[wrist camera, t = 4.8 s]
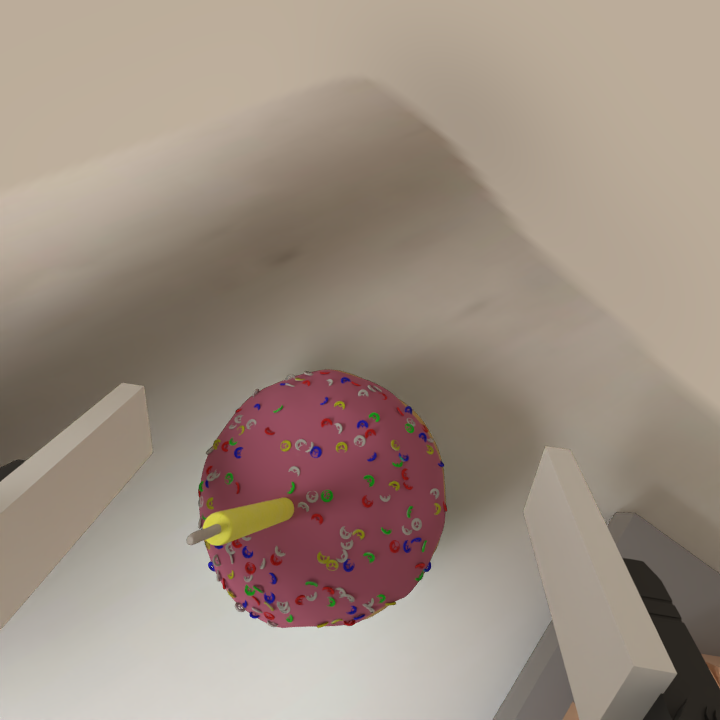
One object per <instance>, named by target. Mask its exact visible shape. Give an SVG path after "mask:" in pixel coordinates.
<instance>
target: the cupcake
mask: <svg viewBox="0 0 720 720" xmlns="http://www.w3.org/2000/svg"><path fill="white" fill-rule="evenodd" d="M289 377H290V378H289ZM291 377H292V378H291ZM288 378H289V379H288ZM255 392H256V393H255ZM235 412H236V413H235V414H234V416H233V417H232V418H231V420H230V421H229V422H228V424H227V425H226V427H225V428H224V429H223V431H222V432H221V434H220V435H219V437H218V438H217V440H215V441H214V443H213V446H212V447H211V448H210V449H209V450H208V451H207V452H206V454H208V457H207V459H206V462H205V465H204V469H203V473H202V478H201V483H200V485H199V490H198V493H199V510H200V520H199V523H198V528H199V529H200V528H201V527H202V528H201V530H198V531H196V532H194V533H192V534H190V535H189V536H188V537H187V543H188V544H189V545H193V544H196V543H198V542H200V541H203V540H204V542H205V545H206V548H207V551H208V554H209V556H210V559H211V562H209V563H208V567H209V568H210V569H211V570H212V571H216V573H217V581H221V583H222V584H223V589H226V590H227V592H228V594H229V595H230V596H231V597H232V598H233V599H234V601H235V602H236V604H235V608H236V610H237V611H239V612H244V611H245V610H246V611H248V612H249V613H250V617H252V618H258V619H260V620H262V621H264V622H266V623H267V624H268V625H269V626H271V627H281V628H286V627H306V626H317V627H318V628H320V627H323V626H338V625H347V626H352V625H354V624H355V623H357V622H360V621H361V620H364V619H367V618H369V617H372V616H374V615H375V614H377V613H379V612H380V611H382V610H383V609H385V608H386V607H387V606H389V605H395V604H396V602H395V601H397V600H399V599H402V598H404V597H405V596H407V595H408V594H409V593H410V592H411V591H412V590H413V588H414V587H415V586H416V585H417V583H418V582H419V581H420V580H421V579H422V578H423V574H424V573H425V572H428V571H429V570H430V569H431V562H430V560H431V558H432V556H433V554H434V552H435V550H436V548H437V546H438V543H439V540H440V537H441V534H442V531H443V528H444V523H445V511H447V506H446V496H445V481H444V470H443V467H444V464H443V462H442V459H441V456H440V453H439V450H438V448H437V446H436V443H435V441H434V439H433V437H432V435H431V433H430V432H429V430H428V428H427V427H426V425H425V423H424V422H423V421H422V419H421V418H420V417H419V416H418V415H417V414H416V413H415V412H414V411H413V410H412V408H411V407H410V406H408V405H406V404H405V403H404V402H402V401H401V400H399V399H398V398H397V397H395V396H394V395H393V394H392V393H391V392H389V391H388V390H386V389H385V388H383V387H381V386H379V385H377V384H375V383H373V382H371V381H368V380H365V379H362V378H360V377H358V376H355V375H353V374H350V373H347V372H343V371H338V370H330V369H326V370H319V371H314V372H308V371H305V372H304V374H302V375H298V376H294V375H292V374H291V375H288V376H287V377H286V378H285V380H284V381H281V382H278V383H276V384H273V385H271V386H269V387H266V388H264V389H262V390H260V391H259V389H256V390H255V391H254V392H253V396H251V397H250V398H249V399H248V400H247V401H246V402H245V403H244V404H243V405H242V406H241V407H240V408H239V409H237V410H236V411H235ZM212 564H213V565H212ZM428 565H429V566H428ZM211 566H212V567H213V568H212V567H211ZM427 567H428V568H427ZM238 605H240V606H238ZM238 607H240V609H239V608H238ZM241 607H242V608H243V609H242V608H241Z"/></svg>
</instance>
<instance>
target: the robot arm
mask: <svg viewBox="0 0 720 720" xmlns="http://www.w3.org/2000/svg"><path fill="white" fill-rule="evenodd" d="M152 453H153V447H152V440H151V433H150V425H149V418H148V410H147V403H146V396H145V388H144V386H141V385H134V384H128V383H121V384H120V385H119V386H118V387H116V388H115V389H114V390H113V391H111V392H110V393H109V394H108V395H106V396H105V397H104V398H103V399H102V400H100V401H99V402H98V403H97V404H95V405H94V406H93V407H92V408H90V409H89V410H88V411H87V412H86V413H84V414H83V415H82V416H81V417H79V418H78V419H77V420H76V421H74V422H73V423H72V424H71V425H70V426H68V427H67V428H66V429H65V430H63V431H62V432H61V433H60V434H58V435H57V436H56V437H55V438H54V439H52V440H51V441H50V442H49V443H47V444H46V445H45V446H44V447H42V448H41V449H40V450H39V451H38V452H36V453H35V454H34V455H33V456H31V457H30V458H29V459H28V460H26V461H23V460H16V461H14V462H11V463H9V464H7V465H5V466H3V467H1V468H0V630H1V629H2V628H3V627H4V625H5V624H6V623H7V622H8V621H9V620H10V618H11V617H12V616H13V615H14V614H15V613H16V611H17V610H18V609H19V608H20V607H21V606H22V605H23V603H24V602H25V601H26V600H27V599H28V598H29V596H30V595H31V594H32V593H33V592H34V591H35V589H36V588H37V587H38V586H39V585H40V584H41V582H42V581H43V580H44V579H45V578H46V577H47V575H48V574H49V573H50V572H51V571H52V570H53V568H54V567H55V566H56V565H57V564H58V563H59V561H60V560H61V559H62V558H63V557H64V556H65V554H66V553H67V552H68V551H69V550H70V549H71V547H72V546H73V545H74V544H75V543H76V542H77V540H78V539H79V538H80V537H81V536H82V535H83V533H84V532H85V531H86V530H87V529H88V528H89V526H90V525H91V524H92V523H93V522H94V521H95V519H96V518H97V517H98V516H99V515H100V514H101V513H102V511H103V510H104V509H105V508H106V507H107V506H108V504H109V503H110V502H111V501H112V500H113V499H114V497H115V496H116V495H117V494H118V493H119V492H120V490H121V489H122V488H123V487H124V486H125V485H126V483H127V482H128V481H129V480H130V479H131V478H132V476H133V475H134V474H135V473H136V472H137V471H138V469H139V468H140V467H141V466H142V465H143V464H144V462H145V461H146V460H147V459H148V458H149V457H150V455H151V454H152ZM523 513H524V517H525V520H526V524H527V528H528V531H529V535H530V539H531V543H532V546H533V550H534V554H535V557H536V561H537V565H538V568H539V572H540V576H541V580H542V583H543V587H544V591H545V594H546V598H547V602H548V605H549V609H550V613H551V617H552V620H553V624H554V628H555V631H556V635H557V639H558V643H559V646H560V650H561V654H562V657H563V661H564V665H565V668H566V672H567V676H568V680H569V683H570V687H571V691H572V694H573V698H574V702H575V705H576V709H577V713H578V717H579V720H720V688H719V686H718V684H717V682H716V681H715V679H714V677H713V675H712V673H711V671H710V670H709V668H708V666H707V664H706V662H705V660H704V658H703V657H702V655H701V653H700V651H699V649H698V647H697V645H696V644H695V642H694V640H693V638H692V636H691V634H690V633H689V631H688V629H687V627H686V625H685V623H683V622H682V620H681V619H682V618H681V616H680V614H679V612H678V610H677V608H676V607H675V605H673V604H672V599H671V597H670V596H669V594H668V592H667V590H666V588H665V586H664V584H663V583H662V581H661V580H660V578H659V577H658V576H657V575H656V574H655V573H654V572H653V571H652V570H651V569H650V568H649V567H648V566H647V565H646V564H645V563H644V561H639V560H633V559H627V558H622V557H621V555H620V553H619V550H618V548H617V546H616V544H615V542H614V540H613V538H612V536H611V534H610V532H609V529H608V527H607V525H606V523H605V521H604V519H603V517H602V515H601V513H600V511H599V508H598V506H597V504H596V502H595V500H594V498H593V496H592V494H591V492H590V490H589V487H588V485H587V483H586V481H585V479H584V477H583V475H582V473H581V471H580V469H579V466H578V464H577V462H576V460H575V458H574V456H573V454H572V452H571V450H569V449H563V448H556V447H549V446H545V449H544V452H543V455H542V458H541V461H540V464H539V466H538V469H537V472H536V475H535V478H534V481H533V484H532V487H531V490H530V493H529V496H528V499H527V501H526V504H525V507H524V510H523Z"/></svg>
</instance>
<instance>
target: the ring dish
mask: <svg viewBox="0 0 720 720" xmlns="http://www.w3.org/2000/svg"><path fill="white" fill-rule="evenodd" d="M607 527H608V529H609V532H610V534H611V536H612V538H613V540H614V542H615V544H616V546H617V548H618V550H619V553H620V555H621V557H622V558H627V559H633V560H639V561H644V563H645V564H646V565H647V566H648V567H649V568H650V569H651V570H652V571H653V572H654V573H655V574H656V575H657V576H658V577H659V578H660V580H661V581H662V583H663V584H664V586H665V588H666V590H667V592H668V594H669V596H670V597H671V599H672V604H673V605H675V607H676V608H677V610H678V612H679V614H680V616H681V618H682V619H681V620H682V622H683V623H685V625H686V627H687V629H688V631H689V633H690V634H691V636H692V638H693V640H694V642H695V644H696V645H697V647H698V649H699V651H700V653H701V655H702V657H703V658H704V660H705V662H706V664H707V666H708V668H709V670H710V671H711V673H712V675H713V677H714V679H715V681H716V682H717V684H718V686H719V688H720V574H719V573H718V572H716V571H715V570H714V569H712V568H711V567H710V566H708V565H707V564H705V563H704V562H703V561H701V560H700V559H698V558H697V557H696V556H694V555H693V554H691V553H690V552H689V551H687V550H686V549H685V548H683V547H682V546H680V545H679V544H678V543H676V542H675V541H673V540H672V539H671V538H669V537H668V536H667V535H665V534H664V533H662V532H661V531H660V530H658V529H657V528H655V527H654V526H653V525H651V524H650V523H649V522H647V521H646V520H644V519H643V518H642V517H640V516H639V515H637V514H636V513H615V514H614V516H613V518H612V519H611V521H610V523H609V525H608V526H607ZM493 720H579V717H578V713H577V709H576V705H575V702H574V698H573V694H572V691H571V687H570V683H569V680H568V676H567V672H566V668H565V665H564V661H563V657H562V654H561V650H560V646H559V643H558V639H557V635H556V631H555V628H554V624H553V620H552V621H551V622H550V624H549V626H548V628H547V629H546V631H545V633H544V634H543V636H542V638H541V639H540V641H539V643H538V644H537V646H536V648H535V650H534V651H533V653H532V655H531V656H530V658H529V660H528V661H527V663H526V665H525V666H524V668H523V670H522V671H521V673H520V675H519V677H518V678H517V680H516V682H515V683H514V685H513V687H512V688H511V690H510V692H509V693H508V695H507V697H506V698H505V700H504V702H503V704H502V705H501V707H500V709H499V710H498V712H497V714H496V715H495V717H494V719H493Z"/></svg>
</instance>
